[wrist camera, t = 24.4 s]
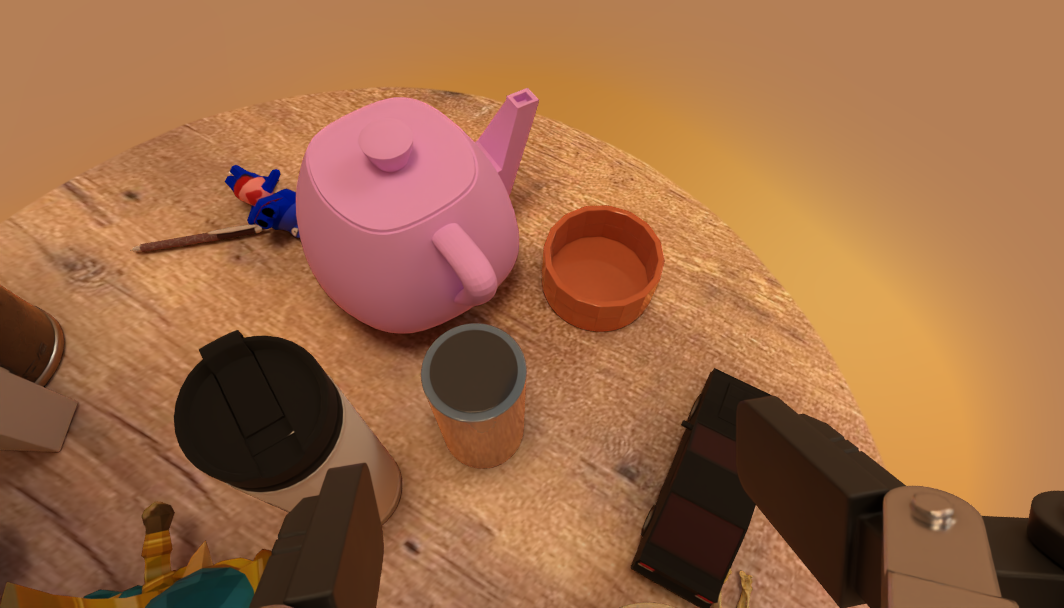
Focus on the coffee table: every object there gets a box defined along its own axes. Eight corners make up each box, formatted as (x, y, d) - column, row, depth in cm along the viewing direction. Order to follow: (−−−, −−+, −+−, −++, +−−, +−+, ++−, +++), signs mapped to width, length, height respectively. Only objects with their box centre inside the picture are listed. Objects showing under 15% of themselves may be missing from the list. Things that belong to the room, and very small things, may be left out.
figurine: (304, 191, 47) (324, 228, 51) (257, 143, 50) (279, 181, 54) (253, 224, 46) (278, 259, 50) (207, 172, 49) (235, 209, 53)
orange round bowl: (527, 312, 48) (528, 286, 44) (560, 224, 53) (564, 192, 49) (637, 346, 47) (649, 321, 43) (662, 253, 52) (674, 223, 48)
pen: (268, 226, 51) (264, 220, 51) (268, 234, 51) (264, 227, 50) (132, 248, 50) (125, 241, 49) (131, 256, 50) (125, 249, 49)
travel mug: (375, 425, 44) (285, 300, 26) (418, 502, 41) (350, 421, 24) (296, 472, 42) (142, 372, 24) (336, 555, 40) (197, 512, 22)
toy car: (777, 412, 45) (806, 391, 40) (707, 617, 38) (732, 618, 34) (696, 373, 46) (715, 348, 42) (615, 564, 40) (628, 559, 35)
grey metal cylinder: (430, 453, 43) (403, 401, 32) (461, 380, 46) (444, 309, 35) (508, 480, 42) (506, 436, 31) (534, 404, 45) (540, 339, 34)
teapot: (610, 282, 50) (646, 163, 36) (409, 419, 44) (363, 337, 30) (478, 140, 57) (468, -3, 43) (289, 242, 51) (209, 112, 37)
